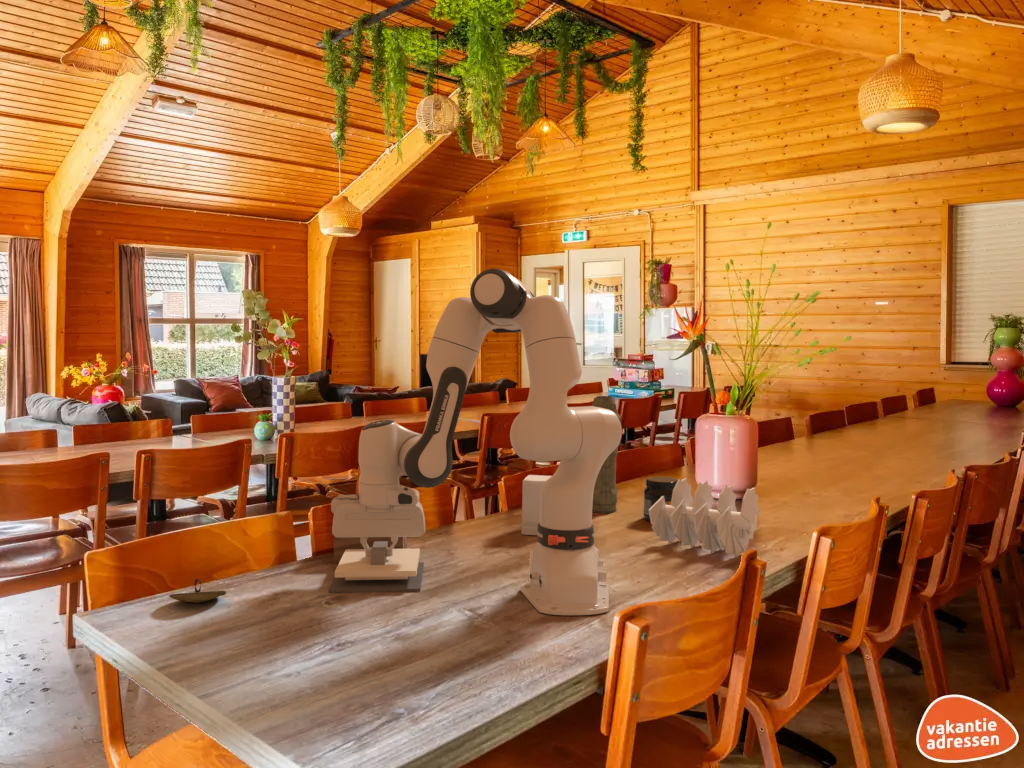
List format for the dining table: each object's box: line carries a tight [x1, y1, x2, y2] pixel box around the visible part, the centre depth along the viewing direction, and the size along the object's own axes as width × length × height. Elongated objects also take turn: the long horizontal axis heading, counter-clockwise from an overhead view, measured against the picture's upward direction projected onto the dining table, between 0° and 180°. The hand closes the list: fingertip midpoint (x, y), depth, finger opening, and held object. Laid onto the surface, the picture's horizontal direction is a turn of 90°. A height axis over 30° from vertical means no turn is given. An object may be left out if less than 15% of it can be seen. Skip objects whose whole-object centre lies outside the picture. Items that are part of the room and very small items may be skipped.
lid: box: [168, 578, 227, 604], centre depth 158 cm, size 11×10×5 cm
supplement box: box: [521, 474, 552, 536], centre depth 217 cm, size 9×9×15 cm
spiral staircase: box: [649, 477, 760, 559], centre depth 201 cm, size 18×18×25 cm
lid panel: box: [334, 541, 421, 580], centre depth 176 cm, size 17×17×5 cm
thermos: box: [591, 395, 622, 514], centre depth 244 cm, size 9×12×35 cm
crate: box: [333, 535, 408, 565], centre depth 195 cm, size 16×16×9 cm
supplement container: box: [642, 476, 678, 523], centre depth 233 cm, size 10×10×12 cm
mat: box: [328, 561, 425, 594], centre depth 176 cm, size 19×19×1 cm
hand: (379, 556), depth 176 cm, fingers closed on lid panel, 3 cm apart
